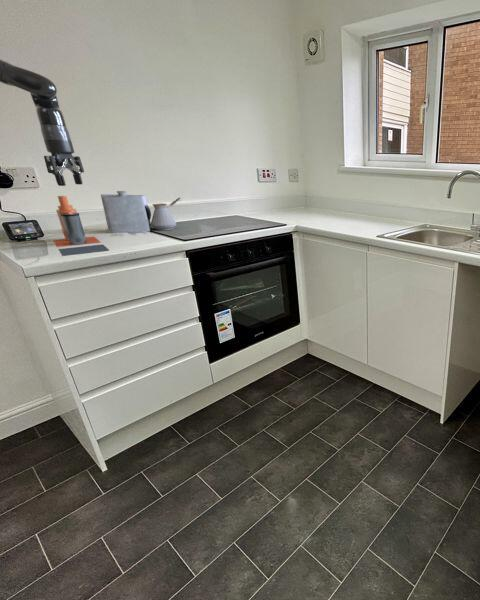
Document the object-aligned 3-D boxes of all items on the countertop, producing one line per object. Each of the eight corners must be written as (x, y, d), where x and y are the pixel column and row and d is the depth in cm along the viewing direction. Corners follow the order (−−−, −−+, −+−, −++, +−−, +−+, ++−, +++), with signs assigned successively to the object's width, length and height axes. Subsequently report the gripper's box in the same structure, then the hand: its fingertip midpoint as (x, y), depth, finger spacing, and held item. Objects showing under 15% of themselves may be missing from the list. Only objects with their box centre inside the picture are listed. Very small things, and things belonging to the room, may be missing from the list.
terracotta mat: (57, 248, 141) (57, 247, 141) (53, 241, 152) (52, 240, 152) (101, 243, 151) (101, 242, 151) (94, 237, 162) (94, 236, 162)
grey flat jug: (154, 228, 187) (147, 194, 180) (151, 230, 182) (143, 194, 176) (112, 228, 182) (103, 193, 175) (107, 230, 177) (98, 194, 171)
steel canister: (70, 245, 144) (60, 214, 140) (68, 243, 148) (59, 213, 144) (88, 243, 148) (79, 213, 144) (86, 241, 152) (77, 212, 148)
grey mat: (62, 256, 131) (61, 254, 131) (58, 250, 139) (58, 249, 138) (109, 250, 141) (108, 249, 141) (103, 245, 148) (103, 244, 148)
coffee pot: (166, 231, 180) (160, 201, 174) (146, 230, 181) (139, 200, 176) (194, 225, 200) (190, 197, 194) (176, 223, 201) (171, 196, 196)
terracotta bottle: (66, 241, 150) (52, 196, 144) (64, 239, 154) (50, 195, 148) (85, 239, 155) (72, 196, 148) (83, 237, 159) (70, 195, 152)
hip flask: (149, 230, 181) (140, 190, 174) (151, 231, 178) (141, 190, 171) (111, 233, 171) (99, 190, 164) (111, 234, 169) (100, 191, 161)
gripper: (61, 139, 135) (74, 183, 141) (29, 137, 122) (44, 185, 128) (82, 140, 136) (94, 184, 142) (52, 138, 123) (67, 186, 129)
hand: (70, 185), depth 135 cm, fingers open, 8 cm apart
